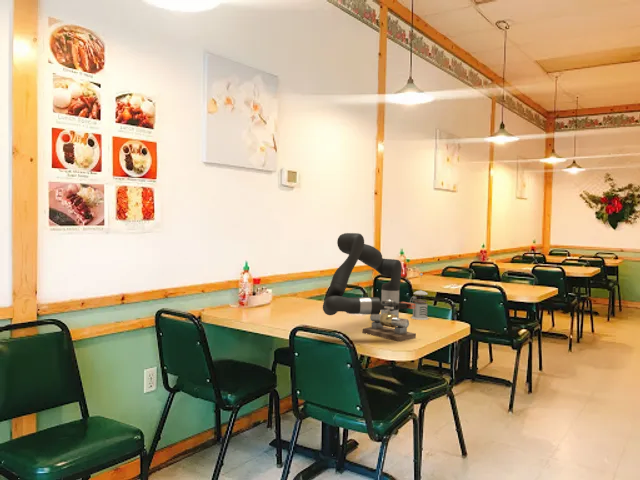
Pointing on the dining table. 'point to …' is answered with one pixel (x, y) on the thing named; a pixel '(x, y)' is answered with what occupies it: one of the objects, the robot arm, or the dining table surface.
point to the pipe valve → (389, 322)
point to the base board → (389, 333)
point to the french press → (418, 312)
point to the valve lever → (409, 305)
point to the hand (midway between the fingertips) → (406, 305)
